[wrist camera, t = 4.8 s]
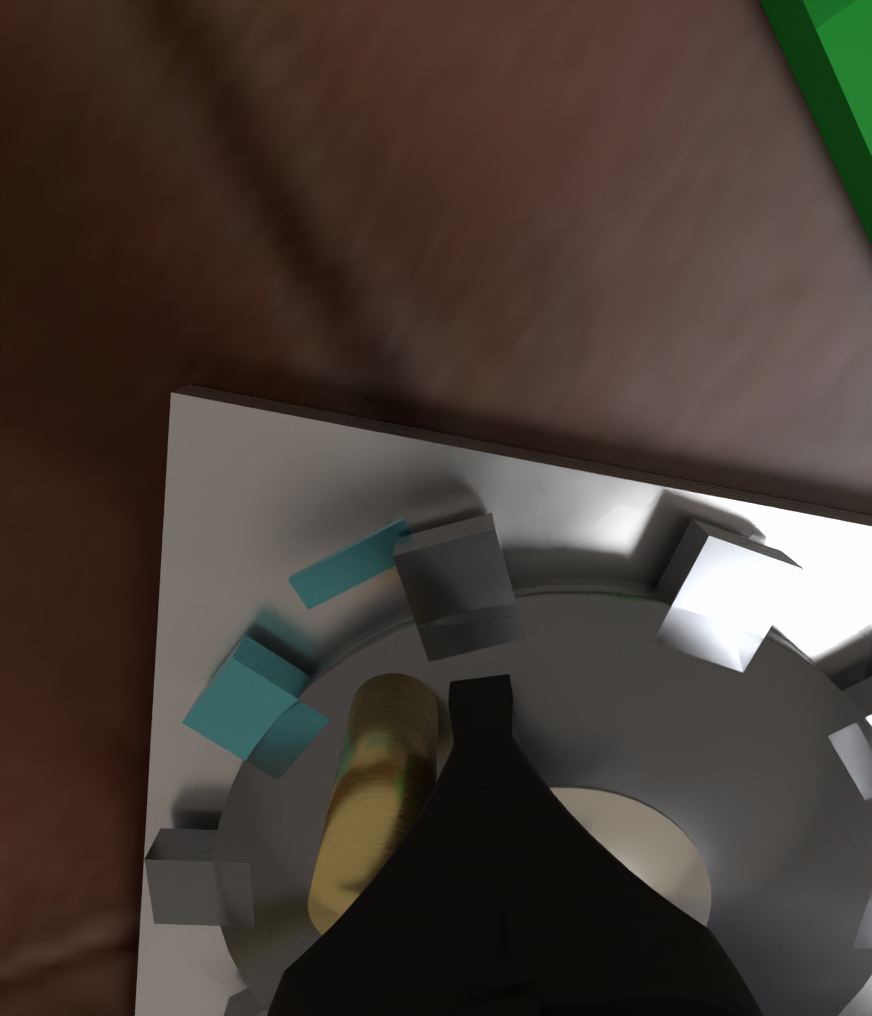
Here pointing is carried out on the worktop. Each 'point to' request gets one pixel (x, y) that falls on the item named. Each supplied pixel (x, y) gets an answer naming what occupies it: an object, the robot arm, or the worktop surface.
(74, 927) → the worktop surface
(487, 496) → the base plate
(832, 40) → the bracket
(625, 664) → the sprocket
